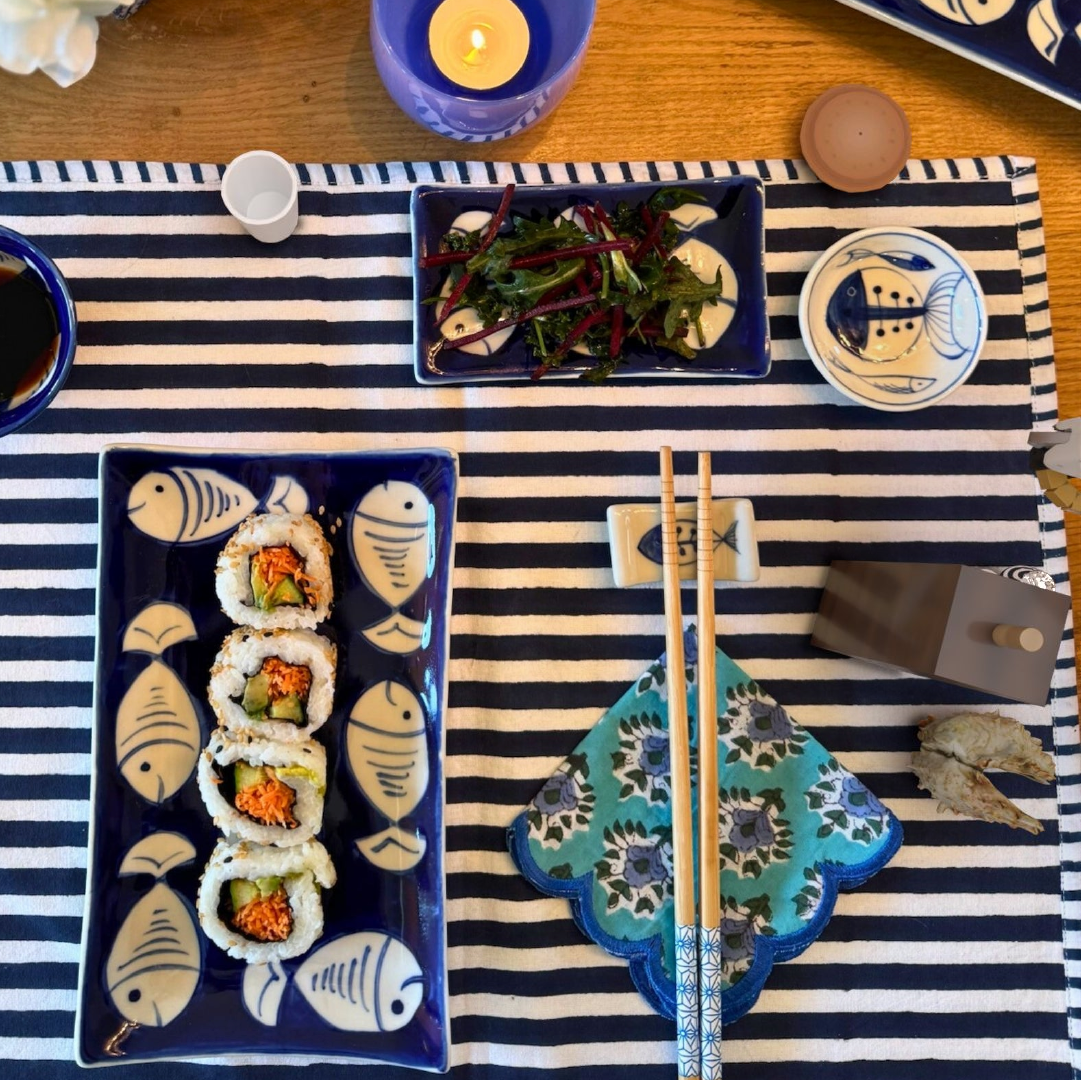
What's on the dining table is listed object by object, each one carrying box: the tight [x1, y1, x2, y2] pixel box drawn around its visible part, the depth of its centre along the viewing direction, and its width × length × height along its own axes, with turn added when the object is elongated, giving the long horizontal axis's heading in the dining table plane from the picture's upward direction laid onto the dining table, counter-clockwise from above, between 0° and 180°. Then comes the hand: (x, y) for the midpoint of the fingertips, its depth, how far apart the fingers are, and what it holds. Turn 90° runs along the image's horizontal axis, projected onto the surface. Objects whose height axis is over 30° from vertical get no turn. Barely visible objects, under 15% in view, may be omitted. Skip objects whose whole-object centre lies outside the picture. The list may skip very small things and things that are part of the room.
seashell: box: [906, 708, 1057, 836], centre depth 134 cm, size 18×18×15 cm
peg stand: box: [809, 559, 1073, 708], centre depth 124 cm, size 12×12×39 cm
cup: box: [220, 149, 299, 244], centre depth 141 cm, size 10×10×13 cm
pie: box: [798, 83, 913, 194], centre depth 146 cm, size 15×16×5 cm
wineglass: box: [980, 564, 1057, 592], centre depth 138 cm, size 6×6×12 cm
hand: (1049, 460), depth 113 cm, fingers closed on ring, 2 cm apart
